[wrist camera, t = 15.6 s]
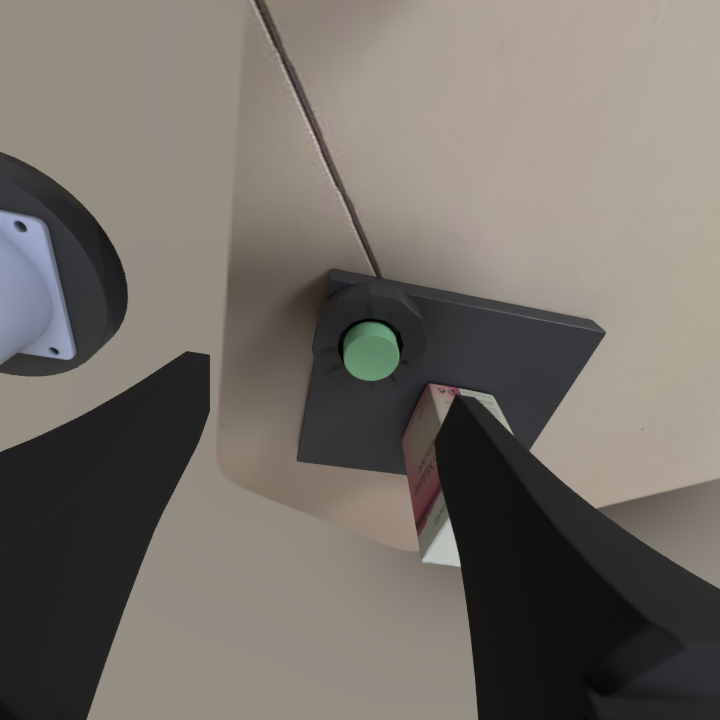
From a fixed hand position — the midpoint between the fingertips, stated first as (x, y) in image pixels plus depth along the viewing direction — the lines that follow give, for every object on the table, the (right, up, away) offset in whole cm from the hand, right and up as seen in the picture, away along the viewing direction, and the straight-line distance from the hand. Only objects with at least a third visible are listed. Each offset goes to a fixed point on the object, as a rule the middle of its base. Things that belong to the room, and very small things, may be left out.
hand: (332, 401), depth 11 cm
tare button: (+1, +2, +7) cm, 8 cm away
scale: (+5, -1, +12) cm, 14 cm away
